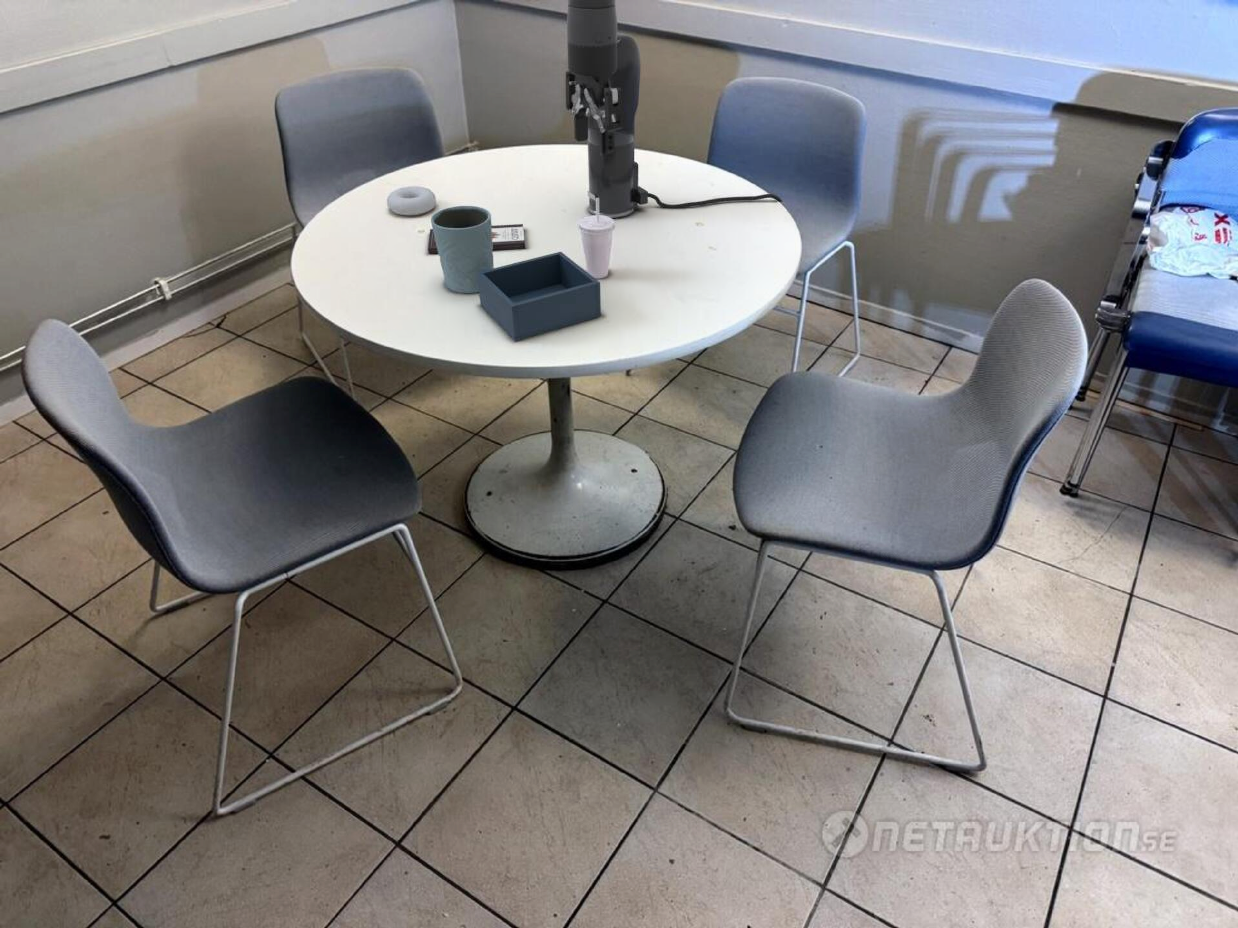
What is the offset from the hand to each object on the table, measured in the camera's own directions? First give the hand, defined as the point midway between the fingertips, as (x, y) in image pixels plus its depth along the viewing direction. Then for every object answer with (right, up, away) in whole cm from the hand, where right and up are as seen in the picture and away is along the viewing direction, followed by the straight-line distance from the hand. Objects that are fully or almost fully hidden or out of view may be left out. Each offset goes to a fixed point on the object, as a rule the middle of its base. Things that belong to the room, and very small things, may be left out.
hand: (593, 147), depth 136 cm
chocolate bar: (-23, -9, +25) cm, 35 cm away
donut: (-39, +1, +38) cm, 54 cm away
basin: (-9, -26, +3) cm, 28 cm away
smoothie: (0, -18, +14) cm, 23 cm away
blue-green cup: (-22, -19, +12) cm, 32 cm away
